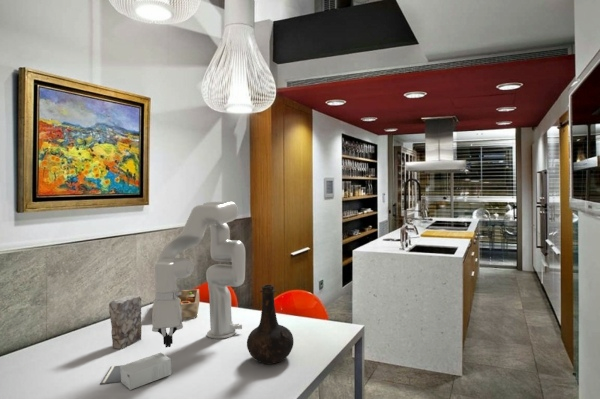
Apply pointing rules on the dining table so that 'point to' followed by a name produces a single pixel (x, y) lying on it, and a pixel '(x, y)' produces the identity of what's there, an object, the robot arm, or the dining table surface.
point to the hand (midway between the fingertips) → (168, 345)
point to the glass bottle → (269, 333)
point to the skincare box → (145, 370)
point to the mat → (112, 375)
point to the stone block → (125, 321)
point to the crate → (189, 304)
